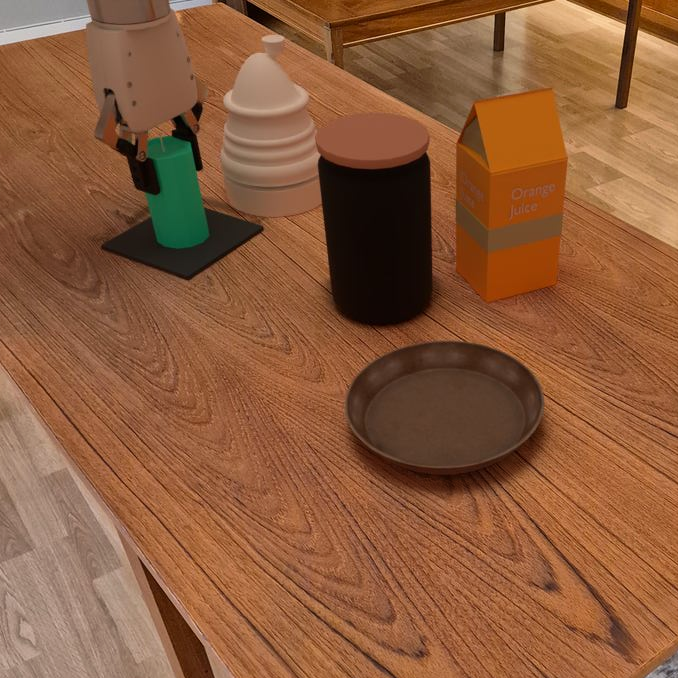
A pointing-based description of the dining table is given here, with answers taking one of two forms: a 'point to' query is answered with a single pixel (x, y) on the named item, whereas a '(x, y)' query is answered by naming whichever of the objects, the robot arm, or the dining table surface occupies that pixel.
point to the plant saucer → (444, 406)
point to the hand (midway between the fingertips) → (169, 178)
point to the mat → (183, 261)
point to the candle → (176, 194)
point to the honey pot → (269, 140)
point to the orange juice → (510, 194)
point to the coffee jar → (377, 215)
